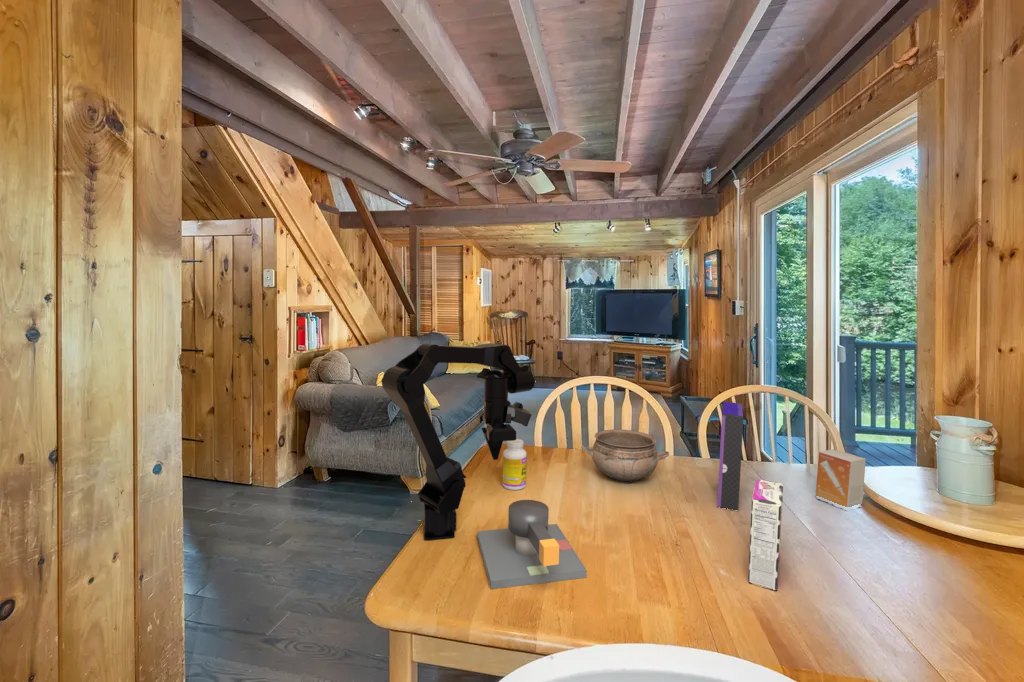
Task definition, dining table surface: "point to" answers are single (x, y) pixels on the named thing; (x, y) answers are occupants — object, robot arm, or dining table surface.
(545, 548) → the lock lever handle
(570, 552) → the base
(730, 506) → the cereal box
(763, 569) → the candy bar box
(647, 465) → the cooking pot
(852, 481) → the small box
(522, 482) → the supplement bottle
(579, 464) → the dining table surface
